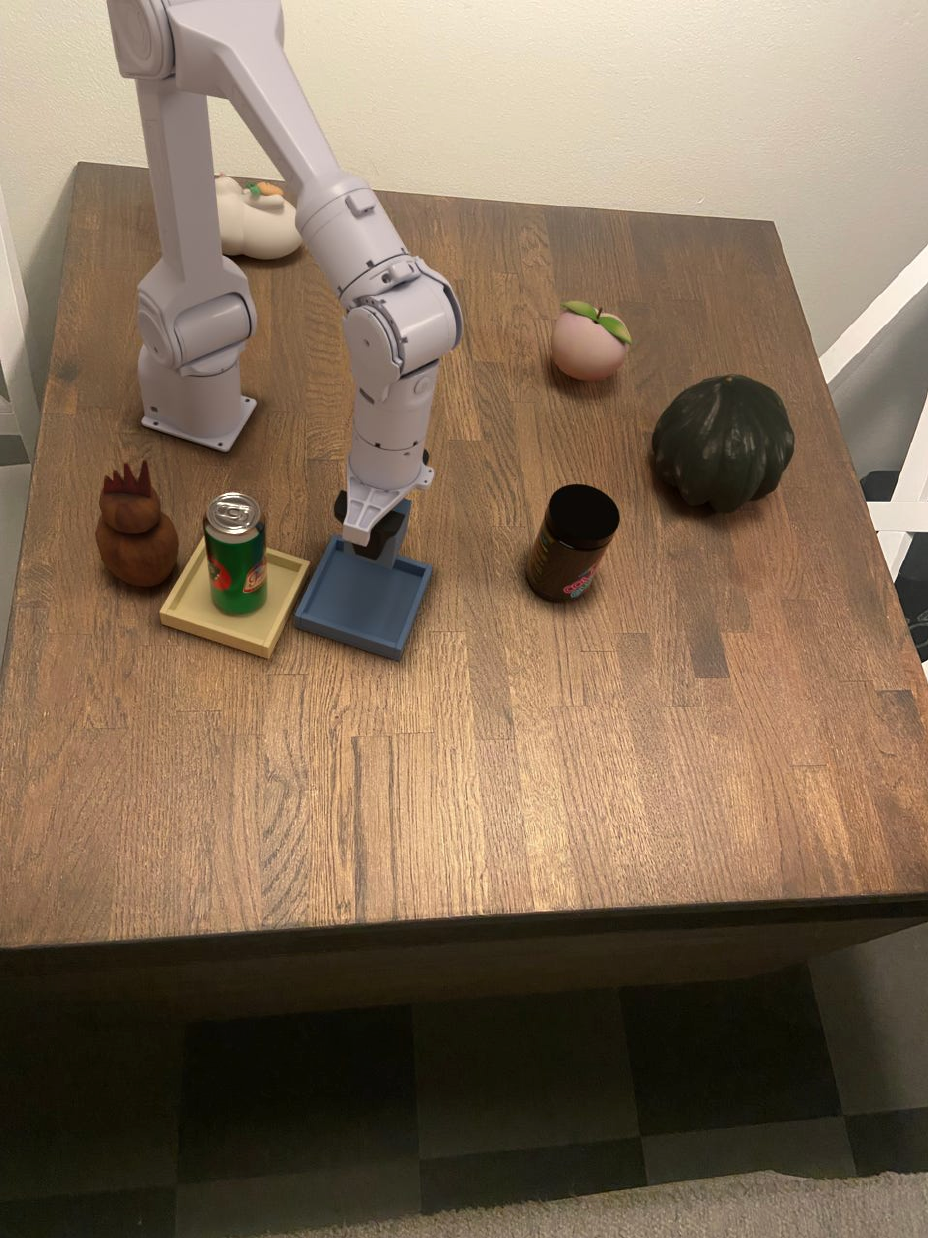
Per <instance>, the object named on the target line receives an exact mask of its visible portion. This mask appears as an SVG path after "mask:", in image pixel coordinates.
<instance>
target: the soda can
mask: <svg viewBox="0 0 928 1238" xmlns="http://www.w3.org/2000/svg"><path fill="white" fill-rule="evenodd" d="M202 529H203V536H204V539H205V548H206V556H207V565H208V573H209V582H210V590H211V597H212V600H213V602H214V603H215V605H216V606H217V607H218V608H219V609H221V610H222V611H224V612H227V613H230V614H235V615H243V614H248V613H251V612H253V611H255V610H257V609H258V608H260V607H261V606H262V605H263V603H264V602H265V600H266V597H267V592H268V589H267V552H266V547H267V521H266V515H265V513H264V511H263V509H262V508H261V507H260V505H259V504H258V502H257V501H256V500H255V499H254V498H253V497H251V496H250V495H247V494H245V493H241V492H226V493H222V494H220V495H218V496H216V497H215V498H213V499H212V500H211V501H210V502H209V504H208V505H207V508H206V510H205V511H204V513H203V516H202Z"/></svg>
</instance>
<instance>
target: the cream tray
mask: <svg viewBox="0 0 928 1238" xmlns="http://www.w3.org/2000/svg"><path fill="white" fill-rule="evenodd" d="M266 552H267V589H268V592H267V597H266V600H265V602H264V603H263V605H262V606H261V607H260V608H258V609H257V610H255V611H253V612H251V613H248V614H243V615H235V614H230V613H227V612H224V611H222V610H221V609H219V608H218V607H217V606H216V605H215V603H214V602H213V600H212V597H211V590H210V582H209V573H208V565H207V556H206V548H205V539H204V535H203V536H202V537H201V540H200V541H199V543H198V544H197V546H196V548H195V550H194V551H193V553H192V555H191V556H190V559H189V560H188V562H187V563H186V565H185V567H184V568H183V570H182V571H181V574H180V576H179V577H178V579H177V580H176V583H175V584H174V586H173V587H172V589H171V590H170V593H169V594H168V595H167V598H166V599H165V601H164V603H163V605H162V606H161V607H160V609H159V611H158V614H159V617H160V622H161V625H164V626H166V627H170V628H173V629H176V630H179V631H182V632H185V633H188V634H192V635H194V636H196V637H200V638H203V639H207V640H209V641H213V642H216V643H219V644H222V645H225V646H228V647H231V648H234V649H237V650H240V651H243V652H245V653H249V654H252V655H255V656H259V657H262V658H264V659H267V660H269V659H270V658H271V656H272V654H273V652H274V649H275V647H276V645H277V644H278V641H279V639H280V637H281V635H282V633H283V631H284V629H285V627H286V625H287V622H288V620H289V618H290V616H291V614H292V612H293V610H294V608H295V606H296V603H297V602H298V600H299V597H300V595H301V593H302V591H303V589H304V587H305V585H306V583H307V581H308V578H309V577H310V574H311V572H310V571H311V561H309V560H306V559H304V558H302V557H298V556H294V555H291V554H288V553H285V552H283V551H280V550H276V549H273V548H271V547H267V546H266Z"/></svg>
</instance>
